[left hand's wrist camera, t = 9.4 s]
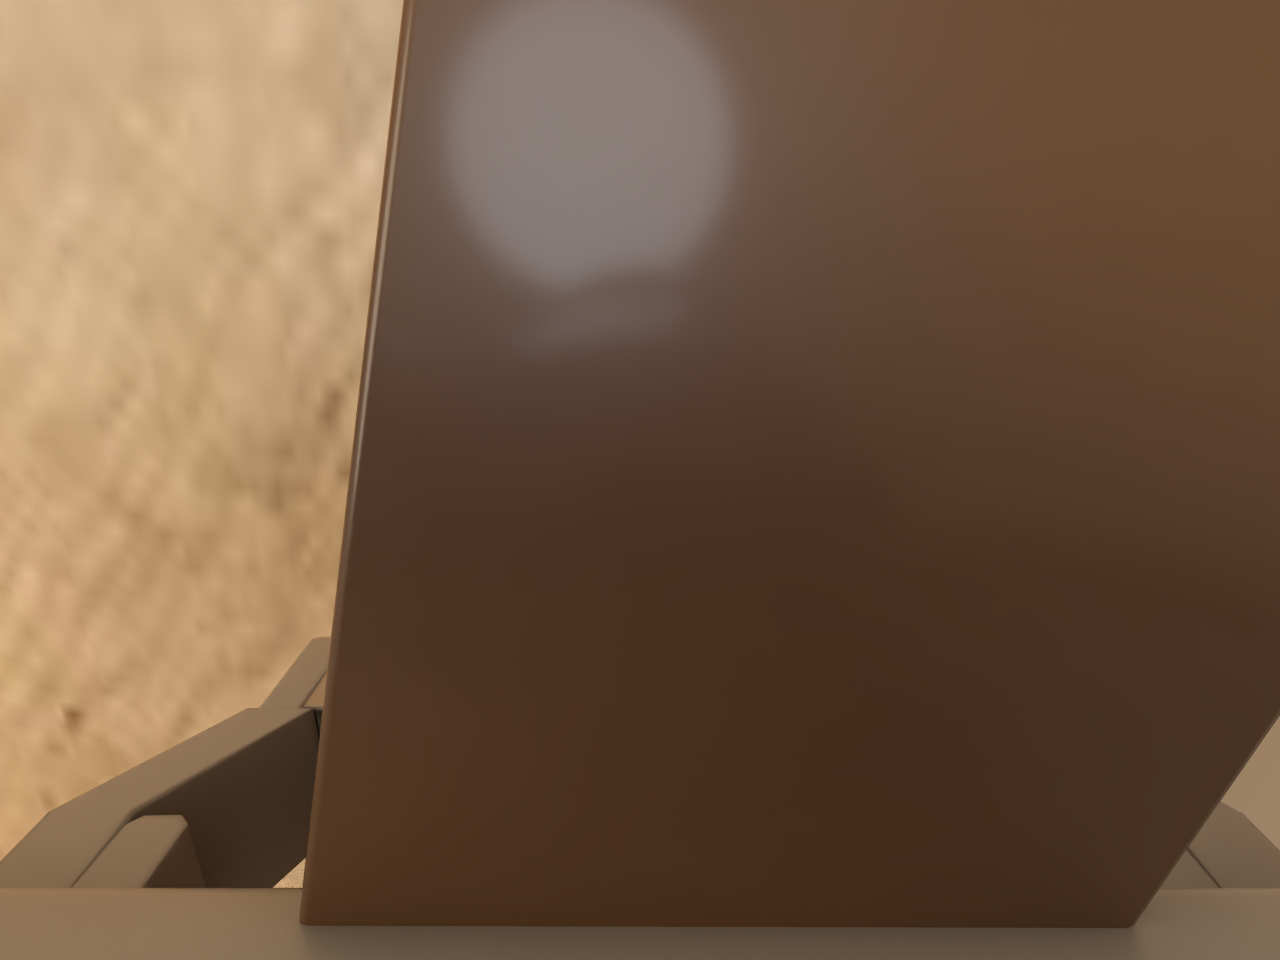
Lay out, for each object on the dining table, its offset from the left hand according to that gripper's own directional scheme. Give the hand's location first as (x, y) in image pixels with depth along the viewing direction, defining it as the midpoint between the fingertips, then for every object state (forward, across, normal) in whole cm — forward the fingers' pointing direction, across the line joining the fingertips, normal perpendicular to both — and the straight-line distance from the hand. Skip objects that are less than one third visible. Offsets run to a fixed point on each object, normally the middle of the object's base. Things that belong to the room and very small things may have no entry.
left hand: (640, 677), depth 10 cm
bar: (+3, -2, -9) cm, 10 cm away
